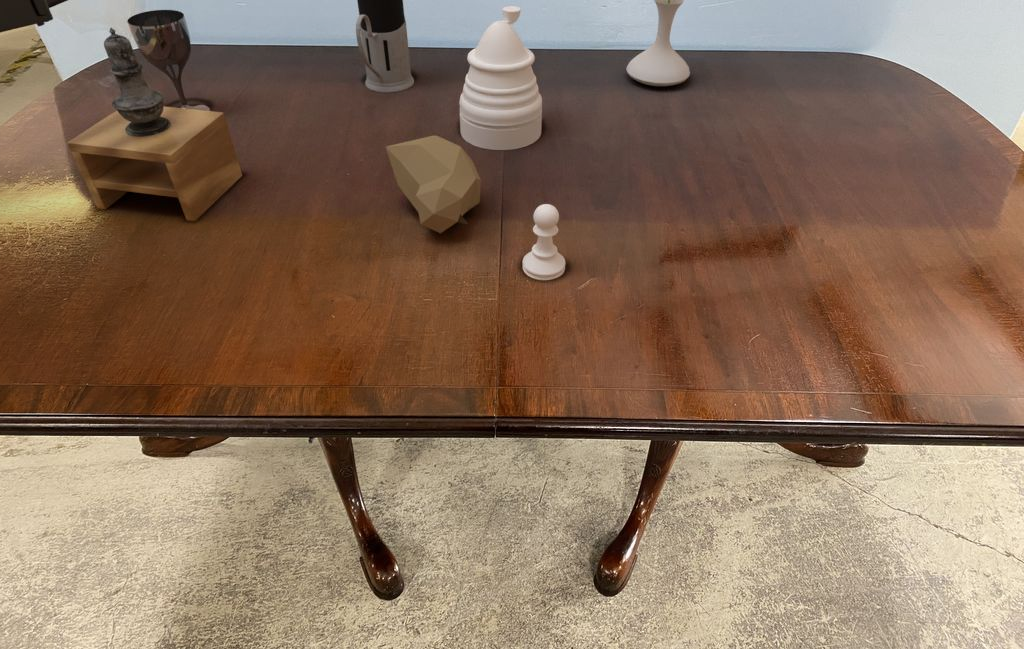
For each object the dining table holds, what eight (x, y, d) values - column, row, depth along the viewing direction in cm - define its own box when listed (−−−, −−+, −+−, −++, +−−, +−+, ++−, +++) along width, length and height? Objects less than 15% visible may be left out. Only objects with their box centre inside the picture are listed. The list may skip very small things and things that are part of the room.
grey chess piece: (127, 141, 81) (86, 39, 73) (119, 123, 85) (78, 25, 77) (178, 130, 83) (143, 30, 75) (167, 113, 87) (133, 16, 79)
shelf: (99, 213, 87) (66, 142, 81) (154, 169, 96) (128, 102, 89) (196, 226, 85) (170, 154, 79) (243, 180, 94) (223, 112, 87)
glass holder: (421, 75, 123) (413, -13, 113) (392, 107, 112) (380, 13, 102) (376, 71, 124) (365, -17, 114) (344, 101, 114) (328, 8, 104)
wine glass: (173, 102, 113) (141, 9, 103) (220, 103, 113) (192, 10, 103) (153, 123, 107) (117, 26, 97) (201, 124, 107) (170, 27, 97)
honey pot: (509, 107, 113) (510, -8, 101) (557, 135, 105) (564, 14, 93) (445, 127, 107) (437, 7, 95) (491, 158, 99) (489, 32, 87)
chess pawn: (537, 254, 81) (540, 189, 75) (572, 269, 79) (578, 203, 73) (513, 275, 78) (514, 209, 72) (549, 291, 76) (553, 224, 70)
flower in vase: (636, 64, 128) (656, -87, 111) (695, 74, 124) (724, -80, 107) (613, 88, 119) (631, -72, 102) (676, 100, 115) (704, -64, 99)
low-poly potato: (418, 186, 94) (353, 179, 84) (456, 120, 89) (392, 105, 79) (480, 257, 88) (418, 258, 79) (525, 192, 83) (464, 184, 74)
